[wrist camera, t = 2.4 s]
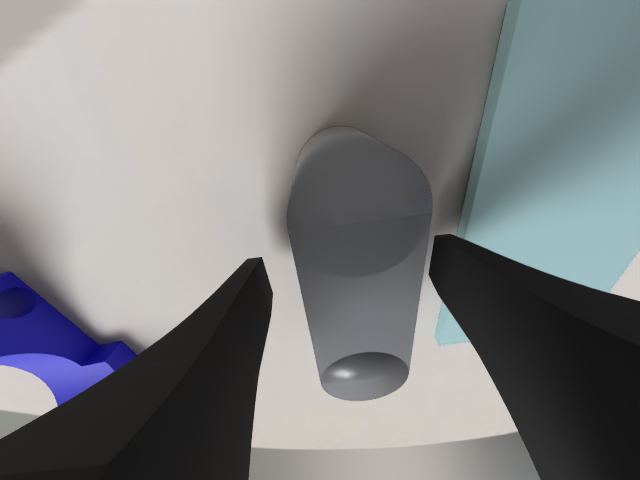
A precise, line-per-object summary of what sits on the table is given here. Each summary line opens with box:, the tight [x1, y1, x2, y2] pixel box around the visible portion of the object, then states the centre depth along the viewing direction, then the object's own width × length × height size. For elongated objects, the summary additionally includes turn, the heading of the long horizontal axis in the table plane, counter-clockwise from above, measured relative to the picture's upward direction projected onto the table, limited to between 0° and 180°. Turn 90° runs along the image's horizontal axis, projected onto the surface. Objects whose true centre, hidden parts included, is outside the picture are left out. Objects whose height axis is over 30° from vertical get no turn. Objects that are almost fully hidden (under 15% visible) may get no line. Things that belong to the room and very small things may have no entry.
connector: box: [287, 126, 432, 401], centre depth 10 cm, size 4×12×4 cm, turn 7°
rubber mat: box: [435, 0, 640, 345], centre depth 11 cm, size 9×16×1 cm, turn 7°
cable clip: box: [0, 272, 138, 406], centre depth 12 cm, size 12×4×6 cm, turn 14°
